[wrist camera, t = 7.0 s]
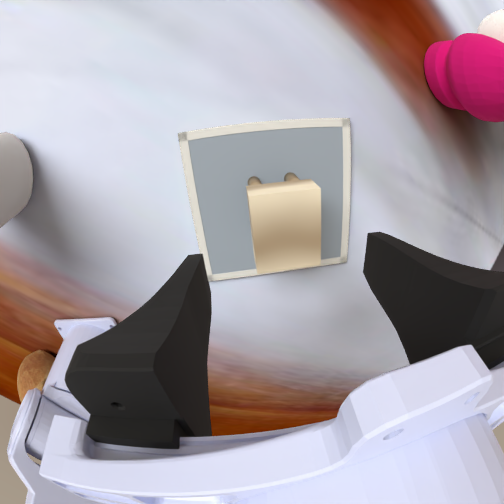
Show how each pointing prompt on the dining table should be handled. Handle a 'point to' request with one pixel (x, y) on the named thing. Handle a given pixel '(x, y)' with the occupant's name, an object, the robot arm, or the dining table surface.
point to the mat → (268, 171)
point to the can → (14, 177)
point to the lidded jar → (493, 25)
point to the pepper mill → (468, 75)
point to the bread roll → (34, 372)
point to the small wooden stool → (285, 223)
